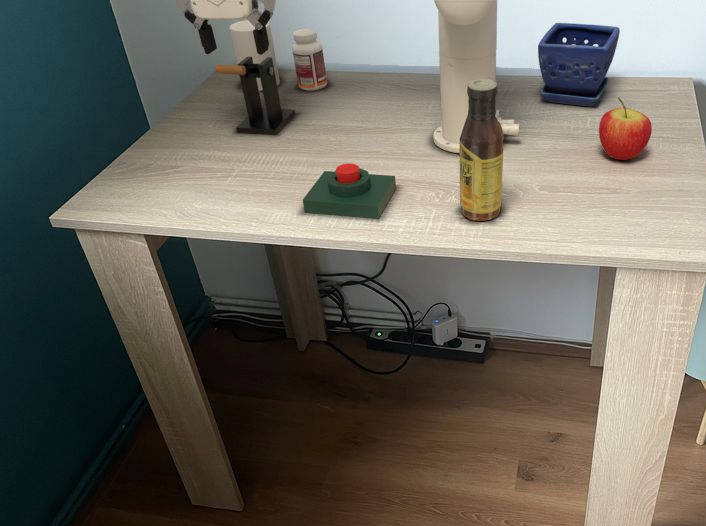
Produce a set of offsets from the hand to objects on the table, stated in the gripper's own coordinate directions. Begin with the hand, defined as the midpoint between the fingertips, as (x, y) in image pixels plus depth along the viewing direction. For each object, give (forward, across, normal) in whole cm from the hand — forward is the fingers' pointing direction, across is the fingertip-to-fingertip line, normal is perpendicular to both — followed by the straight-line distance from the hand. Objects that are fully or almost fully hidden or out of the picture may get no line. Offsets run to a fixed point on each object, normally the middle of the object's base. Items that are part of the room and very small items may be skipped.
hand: (237, 51), depth 124 cm
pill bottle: (+16, 0, +28) cm, 32 cm away
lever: (+6, -1, +3) cm, 7 cm away
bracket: (+16, -2, +8) cm, 18 cm away
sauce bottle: (+17, +45, -20) cm, 52 cm away
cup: (+16, -12, +28) cm, 34 cm away
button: (+13, +24, -19) cm, 34 cm away
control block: (+16, +24, -19) cm, 35 cm away
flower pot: (+18, +56, +29) cm, 65 cm away
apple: (+18, +65, +3) cm, 68 cm away
